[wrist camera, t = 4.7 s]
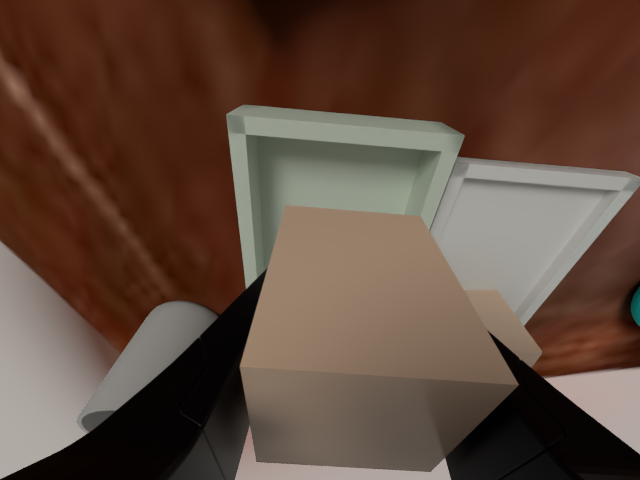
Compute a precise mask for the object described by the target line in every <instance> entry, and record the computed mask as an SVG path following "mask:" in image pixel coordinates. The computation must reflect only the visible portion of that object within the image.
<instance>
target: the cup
mask: <svg viewBox="0 0 640 480" xmlns="http://www.w3.org/2000/svg"><path fill="white" fill-rule="evenodd" d="M218 317H219V316H218V315H217V314H216V313H214V312H213V311H211V310H210V309H208V308H206V307H204V306H202V305H199V304H197V303H192V302H188V301H172V302H167V303H165V304H162V305H160V306H157V307H156V308H155V309H154V310H152V311H151V313H150V314H149V315H148V316H147V318H146V319H145V321H144V322H143V323H142V325H141V326H140V328H139V329H138V331H137V332H136V334H135V335H134V336H133V338H132V339H131V341H130V342H129V344H128V345H127V347H126V348H125V349H124V351H123V352H122V354H121V355H120V357H119V358H118V360H117V361H116V362H115V364H114V365H113V367H112V368H111V370H110V371H109V373H108V374H107V376H106V377H105V379H104V380H103V381H102V383H101V384H100V386H99V387H98V388H97V390H96V391H95V393H94V394H93V396H92V397H91V399H90V400H89V401H88V403H87V404H86V406H85V407H84V409H83V410H82V412H81V413H80V415H79V416H78V419H77V423H78V425H79V427H80V428H81V429H82V430H84V431H85V432H86V433H89V432H90V431H92V430H93V429H94V428H95V427H97V426H98V425H99V424H100V423H102V422H103V421H104V420H105V419H107V418H108V417H109V416H110V415H111V414H113V413H114V412H115V411H116V410H117V409H118V408H120V407H121V406H122V405H123V404H124V403H126V402H127V401H128V400H129V399H130V398H132V397H133V396H134V395H135V394H136V393H137V392H139V391H140V390H141V389H142V388H143V387H145V386H146V385H147V384H148V383H149V382H151V381H152V380H153V379H154V378H155V377H156V376H157V375H159V374H160V373H161V372H162V371H163V370H164V369H165V368H167V367H168V366H169V365H170V364H171V363H172V362H173V361H174V360H175V359H176V358H178V357H179V356H180V355H181V354H182V353H183V352H184V351H185V350H186V349H187V348H188V347H189V346H190V345H191V344H192V343H193V342H194V341H195V340H196V339H197V338H200V335H201V334H202V333H203V332H204V331H205V330H206V329H207V328H208V327H209V326H210V325H211V324H212V323H213V322H214V321H215V320H216V319H217V318H218Z"/></svg>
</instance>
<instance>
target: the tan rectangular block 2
mask: <svg viewBox="0 0 640 480" xmlns="http://www.w3.org/2000/svg"><path fill="white" fill-rule="evenodd" d="M464 291H465V293H466V295H467V297H468V298H469V300H470V302H471V303H472V305H473V307H474V309H475V310H476V312H477V314H478V315H479V317H480V319H481V321H482V322H483V324H484V326H485V327H486V329H487V330H488V331H489V332H490V333H492V334H493V335H494V336H495V337H496V338H497V339H498V340H500V341H501V342H502V343H503V344H504V345H505V346H506V347H508V348H509V349H510V350H511V351H512V352H513V353H515V354H516V355H517V356H518V357H519V358H520V360H523V361H524V362H525V363H526V364H527V365H528V366H530V367H531V368H532V366H533V365H534V364H535V362H536V361H537V359H538V358H539V357H540V355H541V354H542V353H543V352H542V351H541V349H540V348H539V347H538V345H537V344H536V342H535V341H534V340H533V338H532V337H531V336H530V334H529V333H528V332H527V330H526V329H525V327H524V326H523V325H522V323H521V322H520V321H519V319H518V318H517V316H516V315H515V314H514V312H513V311H512V310H511V308H510V307H509V306H508V304H507V303H506V301H505V300H504V299H503V297H502V296H501V295H500V293H499V292H498V290H497V289H493V290H464Z"/></svg>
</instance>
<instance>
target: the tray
mask: <svg viewBox="0 0 640 480" xmlns="http://www.w3.org/2000/svg"><path fill="white" fill-rule="evenodd" d="M639 186H640V177H638V176H636V175H633V174H631V173H628V172H625V171H614V170H602V169H591V168H579V167H567V166H556V165H544V164H533V163H521V162H510V161H498V160H486V159H475V158H463V157H457V158H456V160H455V163H454V166H453V168H452V171H451V174H450V176H449V179H448V182H447V184H446V187H445V190H444V192H443V195H442V198H441V200H440V203H439V206H438V208H437V211H436V214H435V216H434V219H433V222H432V224H431V227H430V230H429V231H430V233H431V235H432V237H433V238H434V240H435V242H436V243H437V245H438V247H439V249H440V250H441V252H442V254H443V255H444V257H445V259H446V261H447V262H448V264H449V266H450V267H451V269H452V271H453V273H454V274H455V276H456V278H457V279H458V281H459V283H460V285H461V286H462V288H463V290H493V289H497V290H498V292H499V293H500V295H501V296H502V297H503V299H504V300H505V301H506V303H507V304H508V306H509V307H510V308H511V310H512V311H513V312H514V314H515V315H516V316H517V318H518V319H519V321H520V322H521V323H522V325H523V326H524V325H525V324H526V323H527V321H528V320H529V319H530V318H531V317H532V315H533V314H534V313H535V312H536V311H537V309H538V308H539V307H540V306H541V304H542V303H543V302H544V301H545V300H546V298H547V297H548V296H549V295H550V294H551V292H552V291H553V290H554V289H555V288H556V286H557V285H558V284H559V283H560V281H561V280H562V279H563V278H564V277H565V275H566V274H567V273H568V272H569V271H570V269H571V268H572V267H573V266H574V265H575V263H576V262H577V261H578V260H579V258H580V257H581V256H582V255H583V254H584V252H585V251H586V250H587V249H588V248H589V246H590V245H591V244H592V243H593V241H594V240H595V239H596V238H597V237H598V235H599V234H600V233H601V232H602V231H603V229H604V228H605V227H606V226H607V225H608V223H609V222H610V221H611V220H612V218H613V217H614V216H615V215H616V214H617V212H618V211H619V210H620V209H621V208H622V206H623V205H624V204H625V203H626V202H627V200H628V199H629V198H630V197H631V195H632V194H633V193H634V192H635V191H636V189H637V188H638V187H639Z"/></svg>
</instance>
